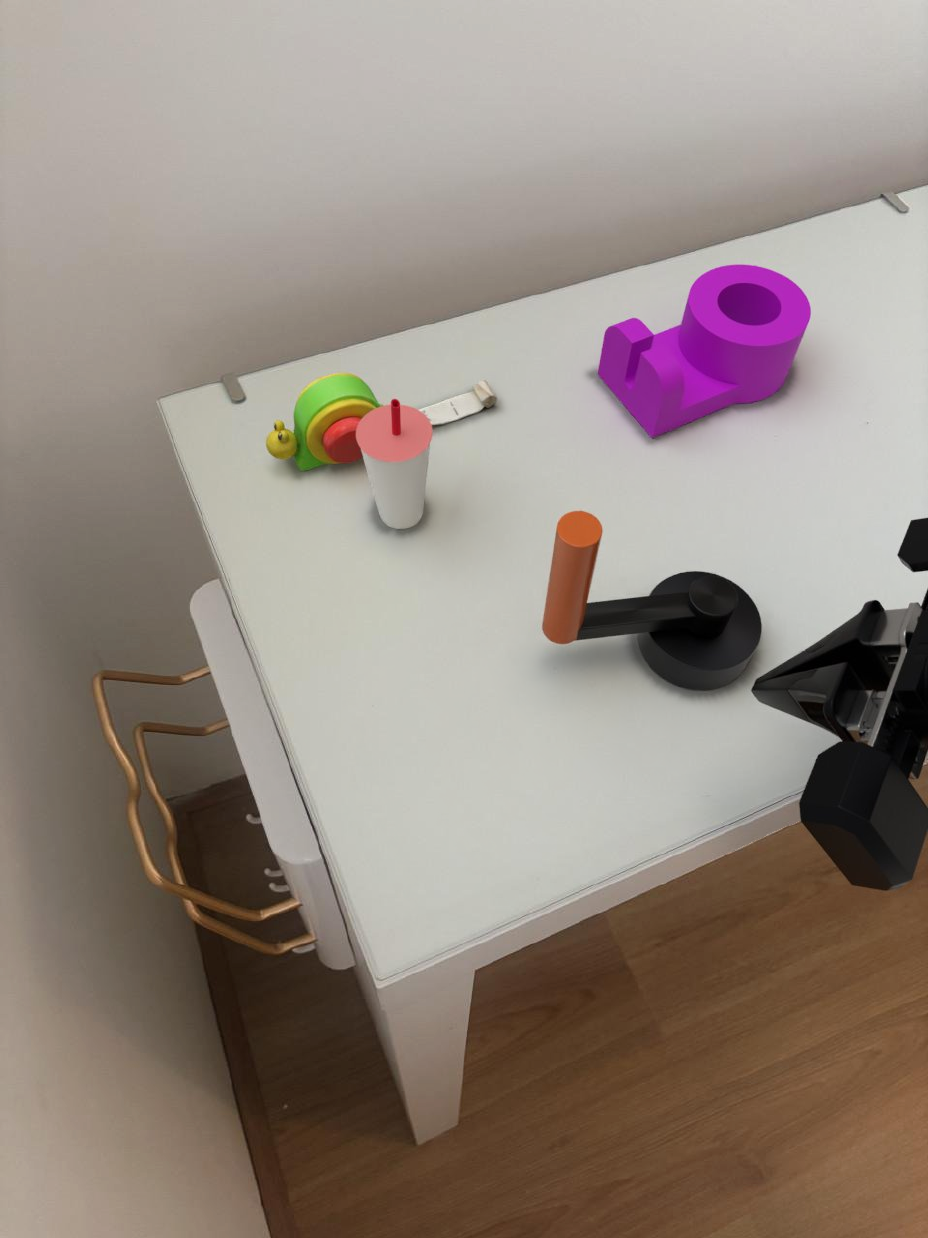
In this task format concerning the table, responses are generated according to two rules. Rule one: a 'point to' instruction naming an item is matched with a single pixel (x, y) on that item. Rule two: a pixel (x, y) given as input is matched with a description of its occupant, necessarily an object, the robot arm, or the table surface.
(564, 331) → the table surface
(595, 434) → the table surface
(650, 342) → the tape dispenser
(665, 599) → the crank handle
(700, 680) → the base
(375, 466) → the cup
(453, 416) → the toy measuring tape
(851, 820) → the robot arm
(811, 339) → the table surface
